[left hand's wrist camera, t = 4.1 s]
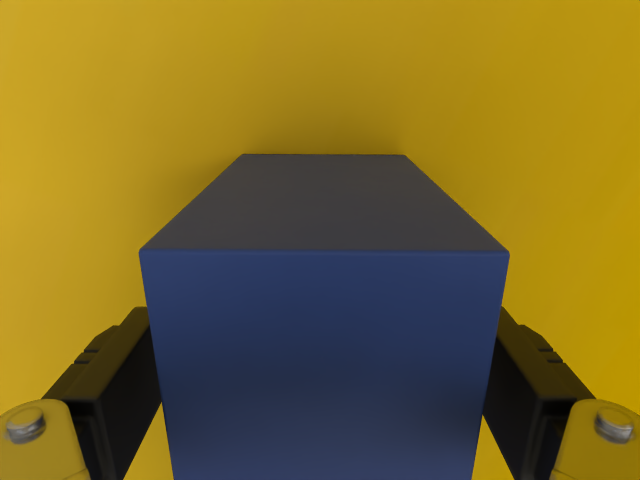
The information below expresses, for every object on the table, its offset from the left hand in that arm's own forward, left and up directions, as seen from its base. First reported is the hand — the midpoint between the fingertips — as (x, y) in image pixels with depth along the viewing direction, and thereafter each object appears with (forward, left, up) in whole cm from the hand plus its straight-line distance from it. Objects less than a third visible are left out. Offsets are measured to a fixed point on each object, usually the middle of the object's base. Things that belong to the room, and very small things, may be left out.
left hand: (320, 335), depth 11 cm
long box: (+7, +4, -7) cm, 10 cm away
